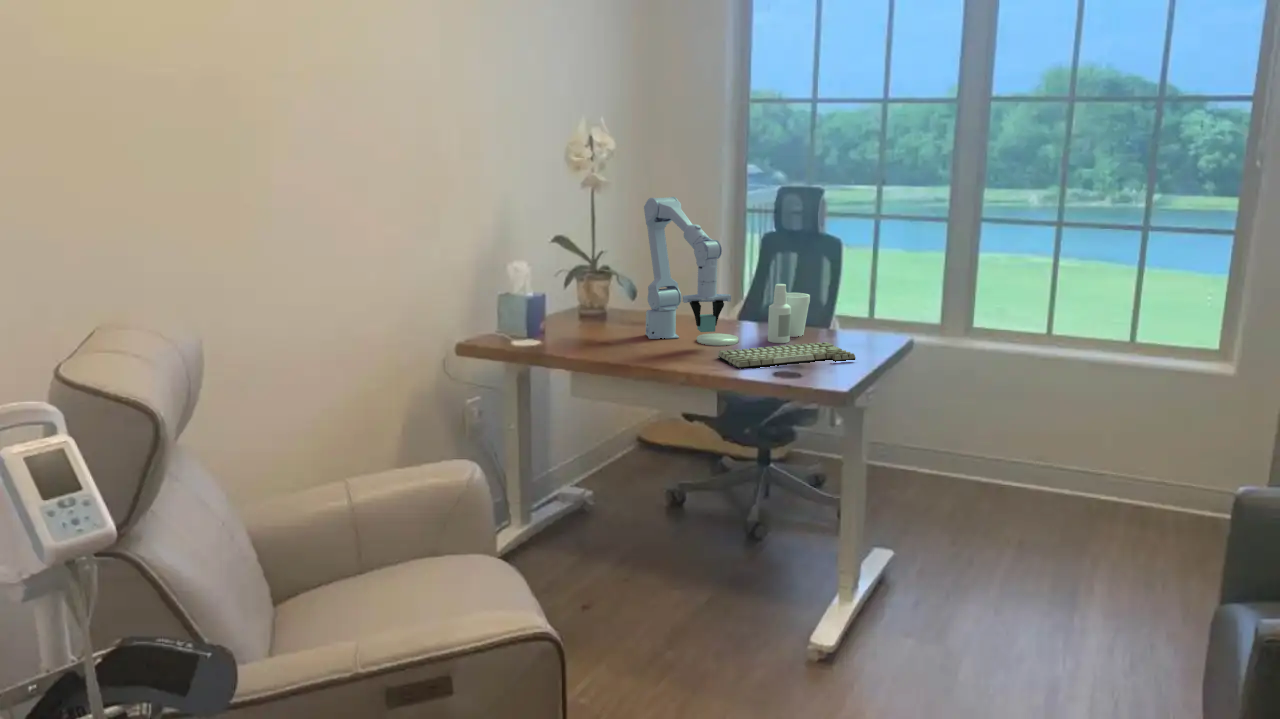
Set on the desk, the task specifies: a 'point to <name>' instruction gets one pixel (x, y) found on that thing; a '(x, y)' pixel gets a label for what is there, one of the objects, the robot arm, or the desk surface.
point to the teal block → (707, 323)
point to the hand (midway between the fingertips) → (706, 325)
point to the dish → (717, 339)
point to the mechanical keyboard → (784, 355)
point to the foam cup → (798, 312)
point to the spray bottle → (779, 316)
